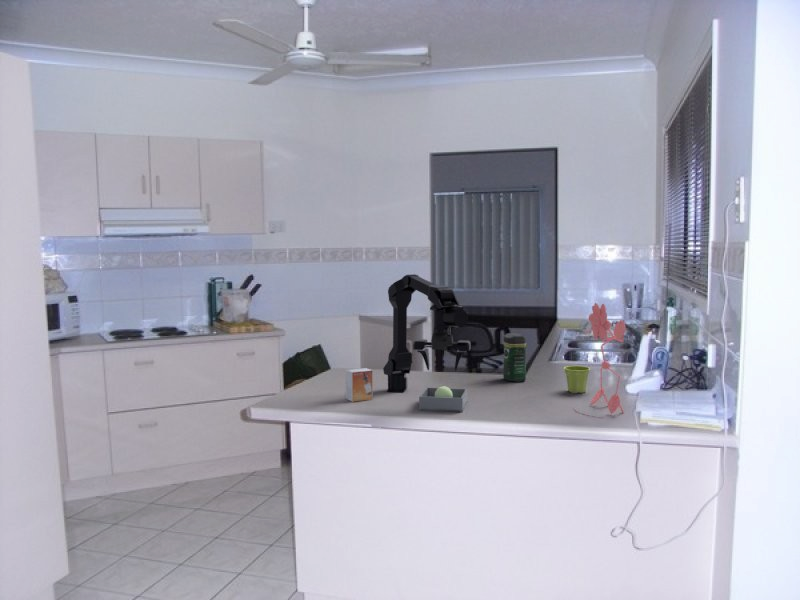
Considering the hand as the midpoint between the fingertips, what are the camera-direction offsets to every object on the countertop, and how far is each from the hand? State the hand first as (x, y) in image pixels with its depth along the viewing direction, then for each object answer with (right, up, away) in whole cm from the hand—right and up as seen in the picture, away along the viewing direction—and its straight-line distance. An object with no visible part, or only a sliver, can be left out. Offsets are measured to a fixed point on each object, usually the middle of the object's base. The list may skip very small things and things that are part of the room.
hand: (442, 370), depth 225 cm
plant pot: (+50, -10, +20) cm, 55 cm away
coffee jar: (+31, -8, +41) cm, 52 cm away
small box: (-28, -11, +11) cm, 32 cm away
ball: (0, -11, 0) cm, 11 cm away
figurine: (+50, -12, -8) cm, 52 cm away
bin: (+1, -12, 0) cm, 12 cm away
